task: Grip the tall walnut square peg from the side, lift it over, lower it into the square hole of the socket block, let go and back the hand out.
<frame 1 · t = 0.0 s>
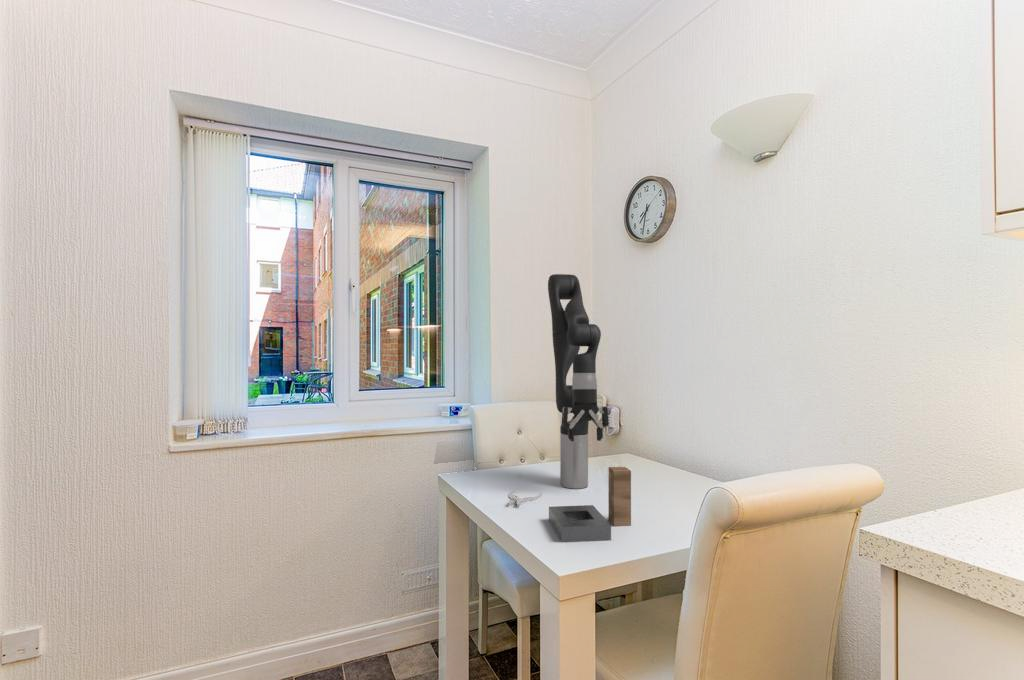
hand: (585, 440, 149), 17 cm above the table, tool pointing down, fingers open, 8 cm apart
walnut peg: (619, 522, 127), on the table
pliers: (520, 501, 146), on the table
socket block: (578, 529, 122), on the table
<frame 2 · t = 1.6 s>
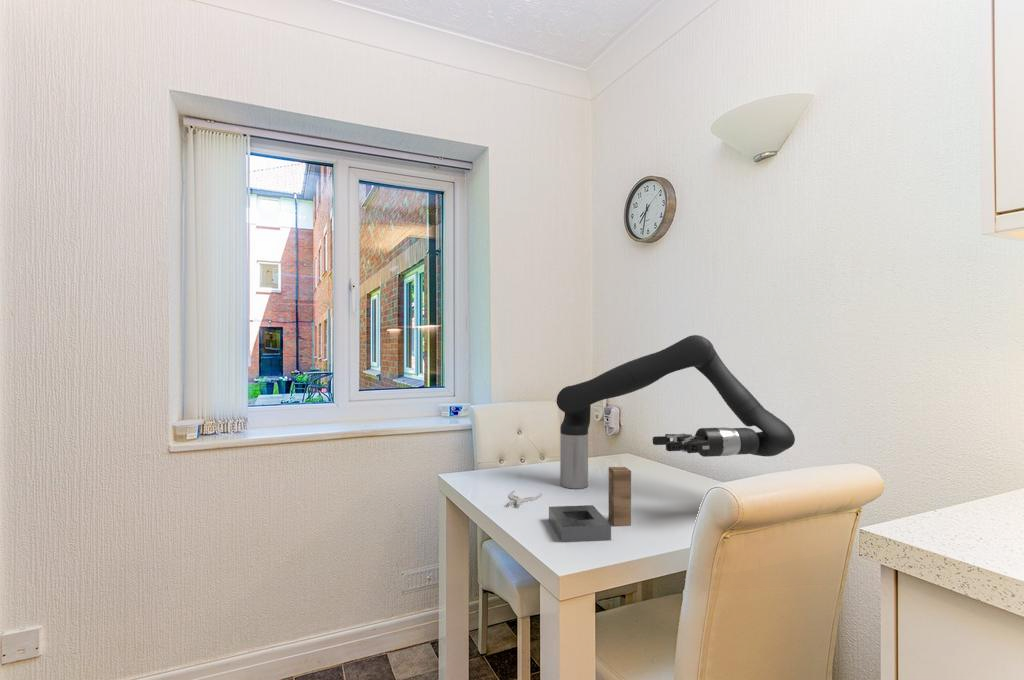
hand: (659, 443, 128), 20 cm above the table, tool horizontal, fingers open, 8 cm apart
nothing on the table moved.
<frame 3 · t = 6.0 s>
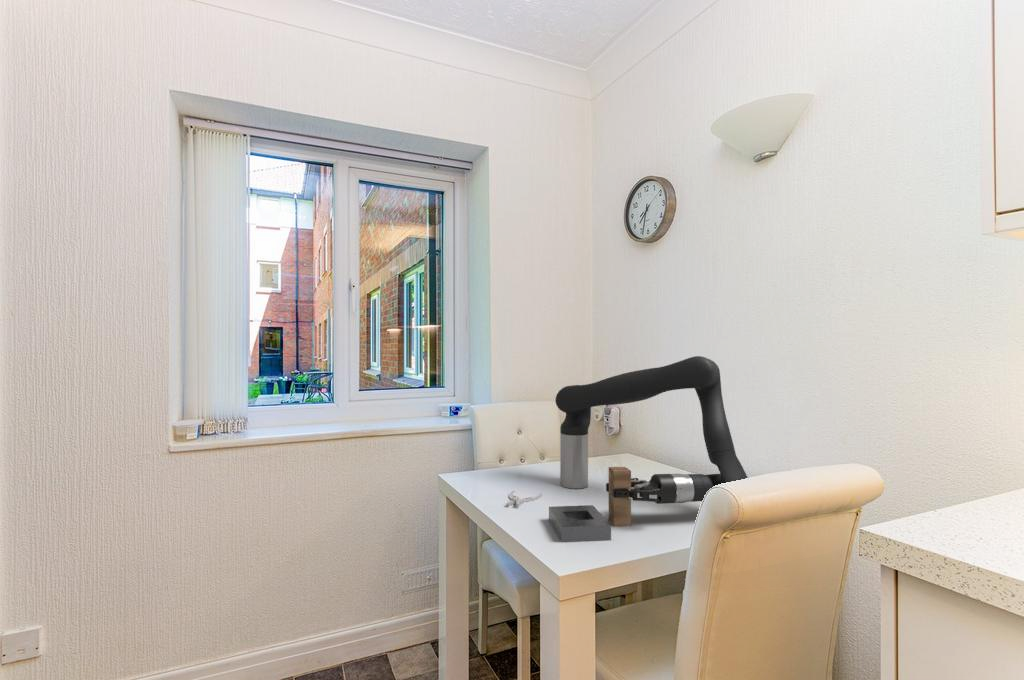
hand: (609, 490, 126), 9 cm above the table, tool horizontal, fingers closed on walnut peg, 4 cm apart
walnut peg: (619, 522, 127), on the table, touching gripper
everything else where it was.
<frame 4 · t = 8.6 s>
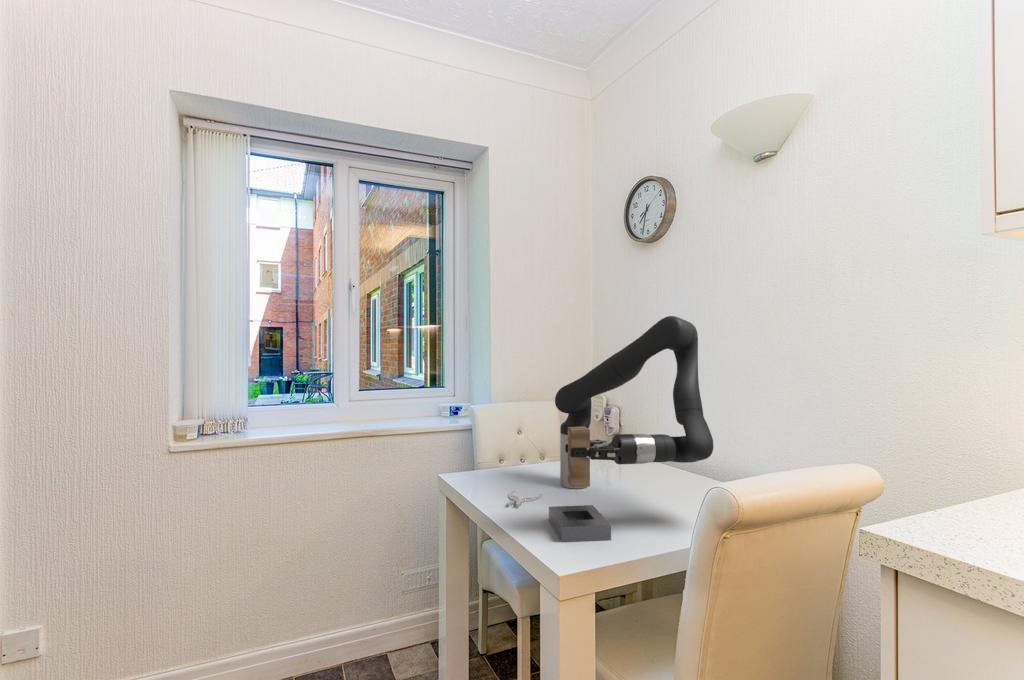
hand: (568, 450, 122), 20 cm above the table, tool horizontal, fingers closed on walnut peg, 4 cm apart
walnut peg: (578, 484, 122), point 11 cm above the table, touching gripper
everything else where it was.
when the fingers open (10 cm above the table, at t = 11.3 s): walnut peg drops 1 cm, resting in socket block.
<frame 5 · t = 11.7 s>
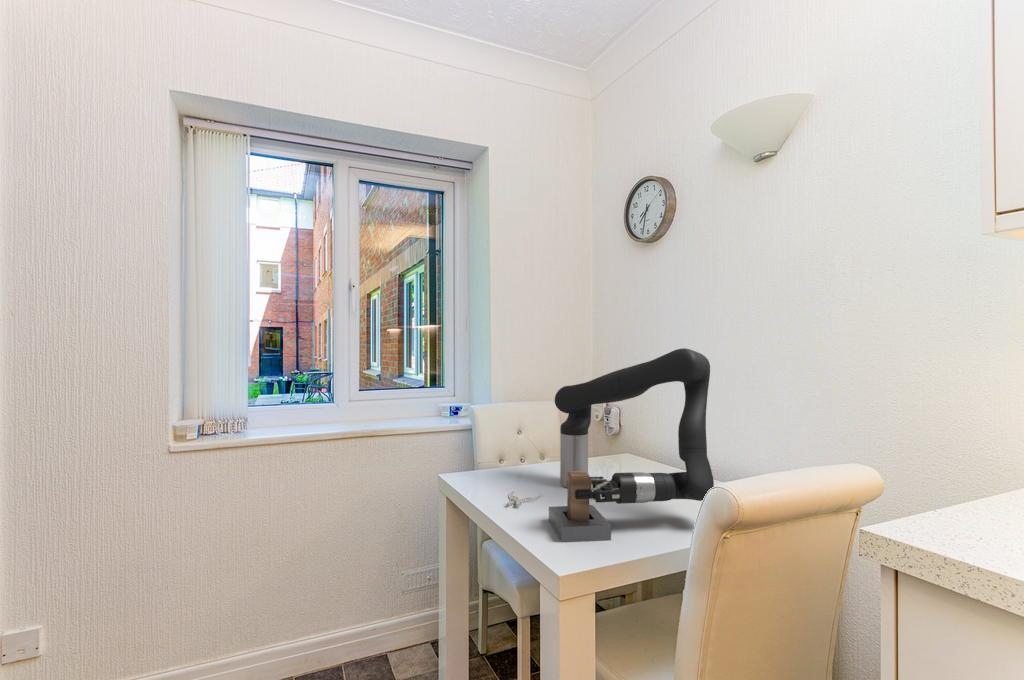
hand: (570, 489, 122), 10 cm above the table, tool horizontal, fingers open, 8 cm apart
walnut peg: (578, 529, 122), resting in socket block
everything else where it was.
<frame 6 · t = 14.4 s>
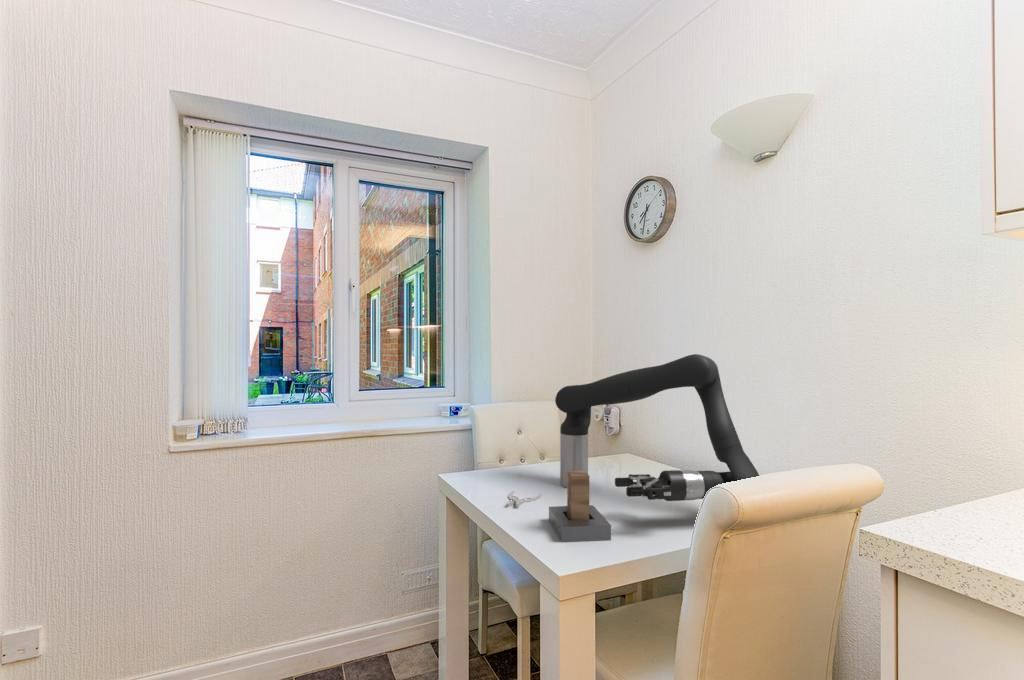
hand: (620, 486, 123), 10 cm above the table, tool horizontal, fingers open, 8 cm apart
nothing on the table moved.
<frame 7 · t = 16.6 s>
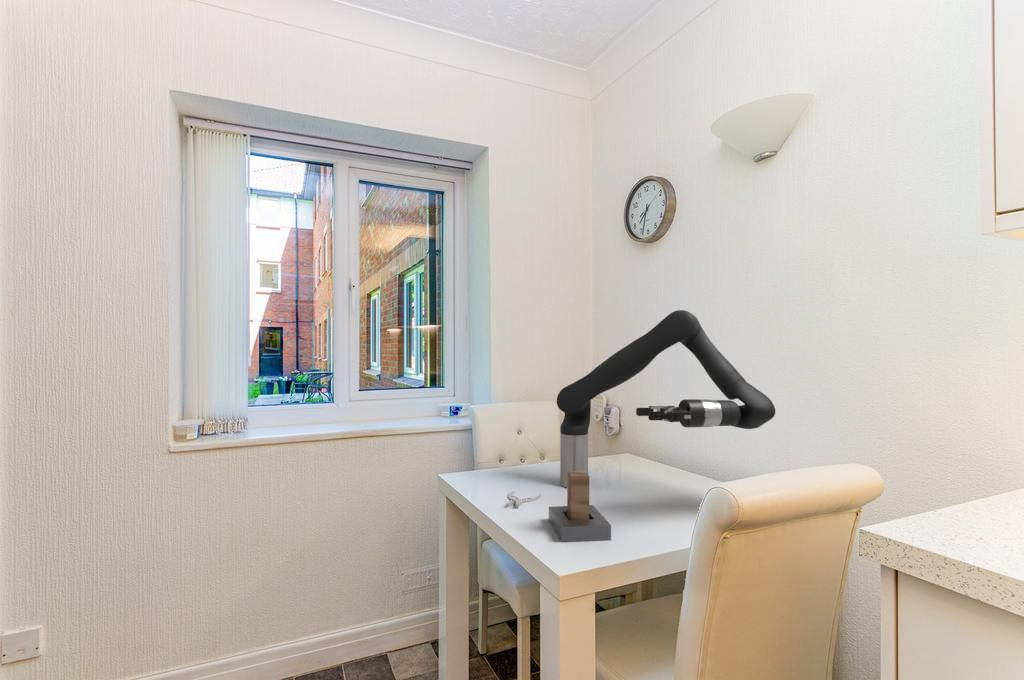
hand: (642, 413, 130), 28 cm above the table, tool horizontal, fingers open, 8 cm apart
nothing on the table moved.
at the end: walnut peg 0.1 cm off-centre on the socket block, point 0.0 cm above the socket block's base; walnut peg tilted 0°; the gripper is holding nothing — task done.
